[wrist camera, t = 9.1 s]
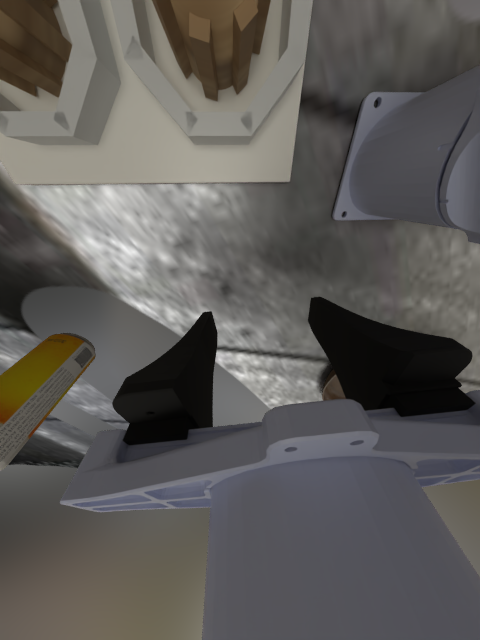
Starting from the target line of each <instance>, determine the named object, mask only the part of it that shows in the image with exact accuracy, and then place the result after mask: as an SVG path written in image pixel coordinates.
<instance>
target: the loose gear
mask: <svg viewBox="0 0 480 640" xmlns="http://www.w3.org/2000/svg"><path fill="white" fill-rule="evenodd" d="M152 2H153V5H154V7H155V9H156V12H157V14H158V17H159V19H160V22H161V24H162V27H163V29H164V31H165V34H166V36H167V39H168V41H169V44H170V46H171V48H172V51H173V53H174V56H175V58H176V61H177V63H178V65H179V67H180V68H181V70H182V72H183V74H184V76H185V78H186V79H187V78H188V77H189V75H190V74H191V73H192V72H193V74H194V75H195V76H196V78H197V79H198V80H199V81H200V82H201V83H202V87H203V90H204V94H205V98H208V99H212V100H215V101H218V90H223V89H227V88H229V87H231V86H232V85H233V87H234V90H235V92H236V94H238V93H239V92H240V91H241V90H242V89H243V88H244V87H245V86H246V85H247V81H248V75H249V68H250V62H251V55H252V53H255V54H258V55H259V54H260V49H261V44H262V40H263V35H264V30H265V25H266V21H267V16H268V11H269V7H270V2H271V0H152Z"/></svg>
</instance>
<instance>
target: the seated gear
mask: <svg viewBox="0 0 480 640" xmlns="http://www.w3.org/2000/svg"><path fill="white" fill-rule="evenodd" d="M57 2H58V1H57V0H0V80H2V81H5V82H7V83H9V84H11V85H13V86H15V87H17V88H19V89H21V90H23V91H25V92H27V93H29V94H31V95H33V96H35V97H37V96H36V90H35V86H38V87H40V88H41V89H43V90H45V91H47V92H49V93H51V94H52V95H54V96H56V97H59V96H60V92H61V88H62V84H63V83H62V81H61V79H62V77H63V75H64V72H65V67H66V62H68V61H69V57H70V53H71V49H72V44H71V43H70V42H69V41H68V40H67V39H65V38H64V37H63V35H62V32H61V29H60V26H59V23H58V20H57V18H56V15H55V13H54V11H53V9H52V6H53V5H54V4H55V3H57Z"/></svg>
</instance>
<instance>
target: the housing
mask: <svg viewBox="0 0 480 640" xmlns="http://www.w3.org/2000/svg"><path fill="white" fill-rule="evenodd" d="M57 1H58V2H57V3H55V4H54V5H53V6H52V9H53V11H54V13H55V15H56V18H57V20H58V23H59V26H60V29H61V32H62V35H63V37H64V38H65V39H67V40H68V41H69V42H70V43H71V44H72V49H71V53H70V57H69V61H68V62H66V67H65V72H64V75H63V77H62V79H61V81H62V83H63V84H62V88H61V92H60V96H59V97H56V96H54V95H52V94H51V93H49V92H47V91H45V90H43V89H41V88H40V87H38V86H35V90H36V96H37V97H35V96H33V95H31V94H29V93H27V92H25V91H23V90H21V89H19V88H17V87H15V86H13V85H11V84H9V83H7V82H5V81H2V80H0V161H1V162H2V164H3V166H4V167H5V169H6V170H7V172H8V174H9V175H10V177H11V178H12V180H13V182H14V183H15V184H18V185H86V184H185V183H284V182H290V176H291V168H292V160H293V152H294V144H295V137H296V129H297V121H298V113H299V105H300V97H301V89H302V81H303V73H304V65H305V58H306V50H307V42H308V34H309V26H310V18H311V10H312V2H313V0H271V2H270V7H269V11H268V16H267V21H266V25H265V30H264V35H263V40H262V44H261V49H260V54H259V55H258V54H255V53H252V55H251V62H250V68H249V75H248V81H247V85H246V86H245V87H244V88H243V89H242V90H241V91H240V92H239V93H238V94H236V92H235V90H234V87H233V85H232V86H231V87H229V88H227V89H223V90H218V101H215V100H212V99H208V98H205V94H204V90H203V87H202V83H201V82H200V81H199V80H198V79H197V78H196V76H195V75H194V74H193V72H192V73H191V74H190V75H189V77H188V78H187V79H186V78H185V76H184V74H183V72H182V70H181V68H180V67H179V65H178V63H177V61H176V58H175V56H174V53H173V51H172V48H171V46H170V44H169V41H168V39H167V36H166V34H165V31H164V29H163V27H162V24H161V22H160V19H159V17H158V14H157V12H156V9H155V7H154V5H153V2H152V0H57Z"/></svg>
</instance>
